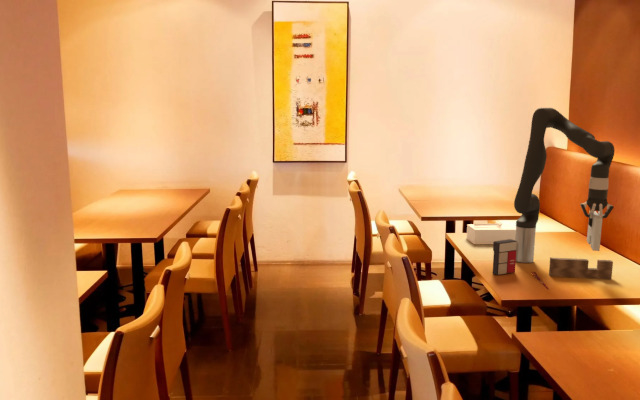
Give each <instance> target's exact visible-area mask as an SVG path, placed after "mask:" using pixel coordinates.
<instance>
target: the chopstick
mask: <svg viewBox="0 0 640 400" xmlns="http://www.w3.org/2000/svg"><path fill="white" fill-rule="evenodd" d="M531 273H532V274H533V275H532V274H531ZM531 273H530V274H531V275H532V276H533V277H534V276H535V279H536V280H537V281H538V282H539V283H540V284H541V285H542V286H543V287H544V288H545V289H546V290H550V289H549V287H548V286H547V284H546V283H545V282H544V281H543V279H541V277H540V276H539V275H538V274H537V272H536V271H531Z"/></svg>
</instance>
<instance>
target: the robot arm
mask: <svg viewBox="0 0 640 400" xmlns="http://www.w3.org/2000/svg"><path fill="white" fill-rule="evenodd" d="M530 124H531V127H530V134H529V141H528V146H527V151H526V154H525V159H524V164H523V169H522V172H521V173H522V174H521V177H520V182H519V184H518V185H519V186H518V189H517V192H516V194H515V198H514V201H513V202H514V203H513V205H514V210H515V211H516V212H517V213H518V214H521V215H520V217H519V218H517V220H516V221H515V227H516V233H515V241H517V246H516V262H517V263H523V264H525V263H527V264H531V263H534V258H535V245H536V244H535V243H536V229H537V223H538V221H539V215H540V208H541V206H540V205H541V203H540V198H539V197H538V195H537V194H535V193H533V190H534V187H535V185H536V184H537V182H538V181H539V180H540V178H541V176H542V174H543V172H544V170H545V167H546V162H547V159H548V158H547V157H548V155H547V149H546V146H545V135H546V131H547V128H552V129H554V130H557V131H559V132H561V133H562V134H563V135H565V137H566V138H567V139H568V141H571V142H572V143H573V144H574V145H577V146H578V147H579V148H582V149H583V150H584V151H585V152H586V153H587V154H589V156H591V157H593V158H595V159H596V161H595V163H593V164H592V165H591V167H590V168H591V169H590V178H589V182H588V195H587V200H586V201H585V202H583V203H582V202H581V203H580V204H579V205H580V208H581V209H582V212H583V215H584V216H585V217H586V218H587V219H588V223H587V225H588V224H589V225H590V227H592V221H593V219H592V218H593V214H594V211H596V212H597V213H598V214H599V215H600V216H601V218H602V220H603V219H607V218H608V217H609V216H610V214H611V212H612V210H614V205H612V204H610V203H609V202H608V193H609V185H610V184H609V174H610V168H611V165H612V162H613V160H614V156H615V146H614V144H613V143H612V142H611V141H609V140H608V141H607V140H604V141H600V140H597V139H596V138H595V136H594V134H592V133H591V132H589V131H587V130H586V129H583V128H581V127H580V126H578V125H577V124H575V123H573V122H572V121H570V120H569V119H568V118H567V117H565V116H564V115H563V114H562V113H561V112H559V111H558V110H557V109H556V108H553V107H539V108H537V109H536V110H534V112H533V115H532V118H531V123H530ZM587 206H588V208H589V211H590V213H588V211H587V209H586V208H587ZM605 208H606V211H605V212H604V213H603V210H604V209H605Z"/></svg>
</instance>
